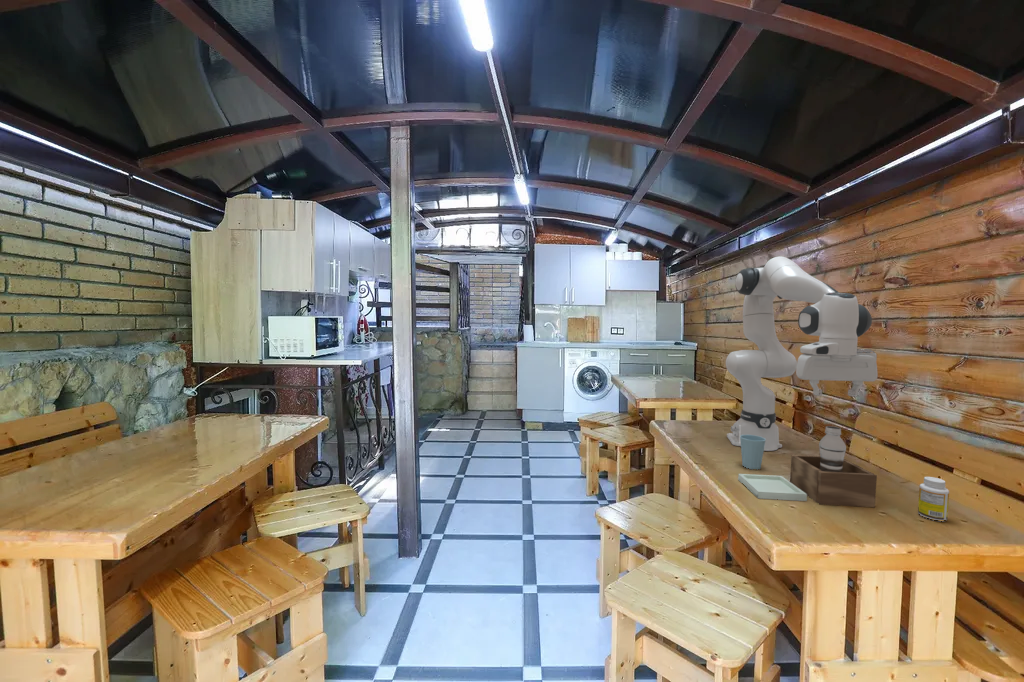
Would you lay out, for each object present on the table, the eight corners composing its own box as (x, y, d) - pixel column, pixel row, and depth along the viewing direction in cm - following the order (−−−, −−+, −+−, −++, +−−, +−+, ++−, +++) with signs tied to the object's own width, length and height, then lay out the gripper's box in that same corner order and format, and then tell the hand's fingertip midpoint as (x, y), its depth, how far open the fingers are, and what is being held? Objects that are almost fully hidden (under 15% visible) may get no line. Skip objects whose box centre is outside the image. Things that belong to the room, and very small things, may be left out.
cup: (768, 468, 146) (769, 438, 146) (757, 472, 142) (758, 442, 142) (746, 461, 153) (747, 433, 152) (735, 466, 148) (736, 436, 148)
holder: (789, 482, 134) (791, 454, 133) (838, 485, 132) (840, 456, 131) (819, 504, 118) (820, 472, 118) (875, 507, 117) (877, 475, 116)
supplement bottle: (930, 512, 114) (932, 475, 114) (953, 522, 109) (956, 483, 108) (911, 512, 114) (914, 475, 113) (934, 522, 108) (936, 483, 108)
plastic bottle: (836, 491, 128) (840, 425, 126) (848, 500, 121) (852, 431, 120) (812, 488, 129) (815, 423, 128) (821, 497, 123) (825, 429, 122)
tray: (738, 479, 136) (738, 473, 136) (781, 481, 134) (781, 475, 134) (758, 498, 122) (758, 491, 122) (806, 501, 120) (807, 494, 120)
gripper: (868, 348, 125) (866, 394, 125) (794, 347, 127) (792, 392, 128) (885, 349, 118) (882, 398, 119) (806, 348, 121) (804, 396, 121)
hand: (835, 395), depth 123 cm, fingers open, 8 cm apart
